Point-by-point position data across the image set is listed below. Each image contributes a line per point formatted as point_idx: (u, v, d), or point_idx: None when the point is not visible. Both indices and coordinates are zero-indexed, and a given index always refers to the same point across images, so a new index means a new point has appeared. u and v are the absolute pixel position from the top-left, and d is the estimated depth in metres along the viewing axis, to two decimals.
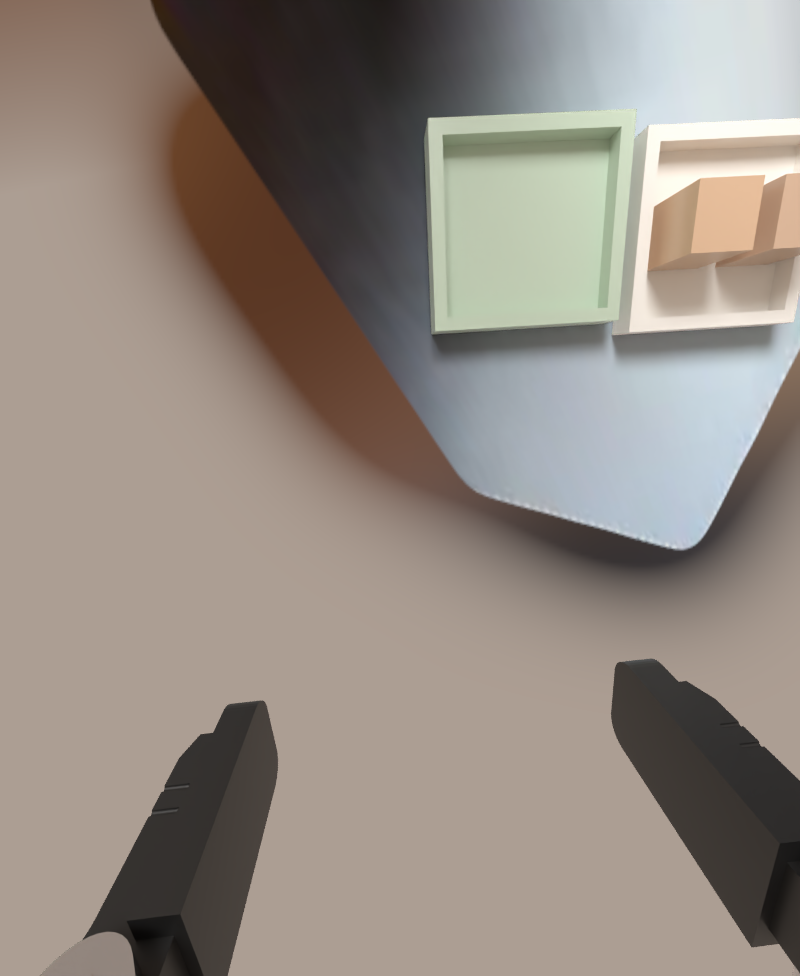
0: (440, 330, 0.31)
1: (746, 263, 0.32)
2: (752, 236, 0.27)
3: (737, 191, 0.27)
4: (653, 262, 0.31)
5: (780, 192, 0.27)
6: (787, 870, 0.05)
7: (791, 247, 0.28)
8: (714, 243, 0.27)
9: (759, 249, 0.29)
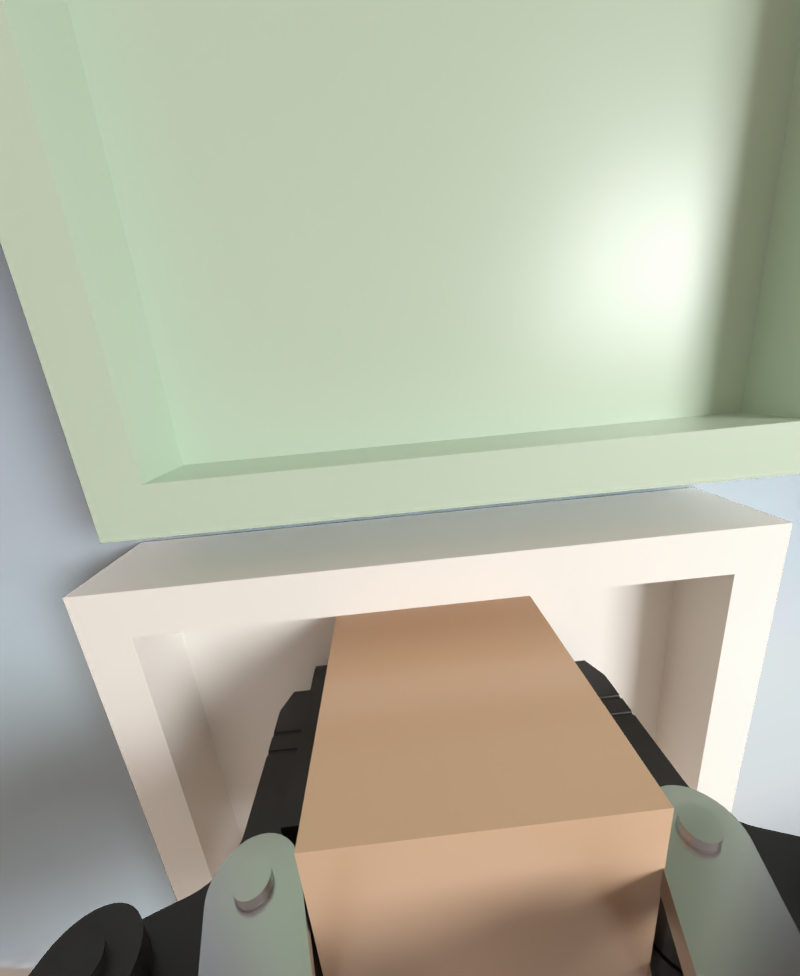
0: None
1: None
2: None
3: (589, 957, 0.05)
4: (352, 633, 0.08)
5: None
6: None
7: None
8: (358, 935, 0.05)
9: None
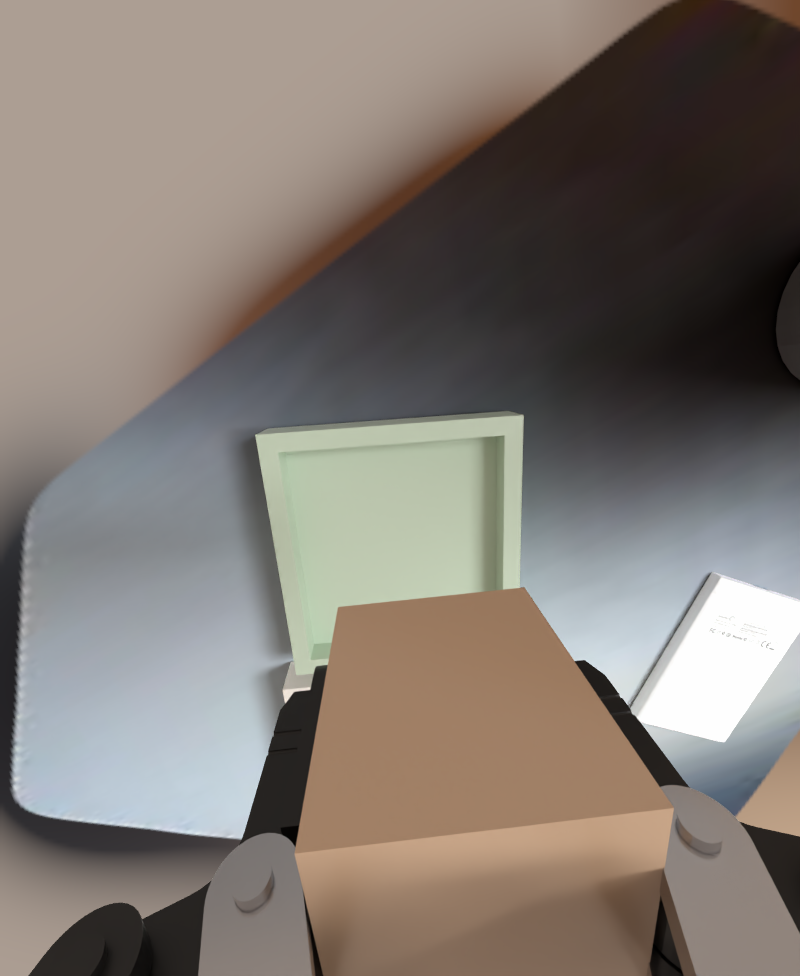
0: (258, 442, 0.20)
1: None
2: None
3: (589, 957, 0.05)
4: (352, 633, 0.08)
5: None
6: None
7: None
8: (357, 935, 0.05)
9: None
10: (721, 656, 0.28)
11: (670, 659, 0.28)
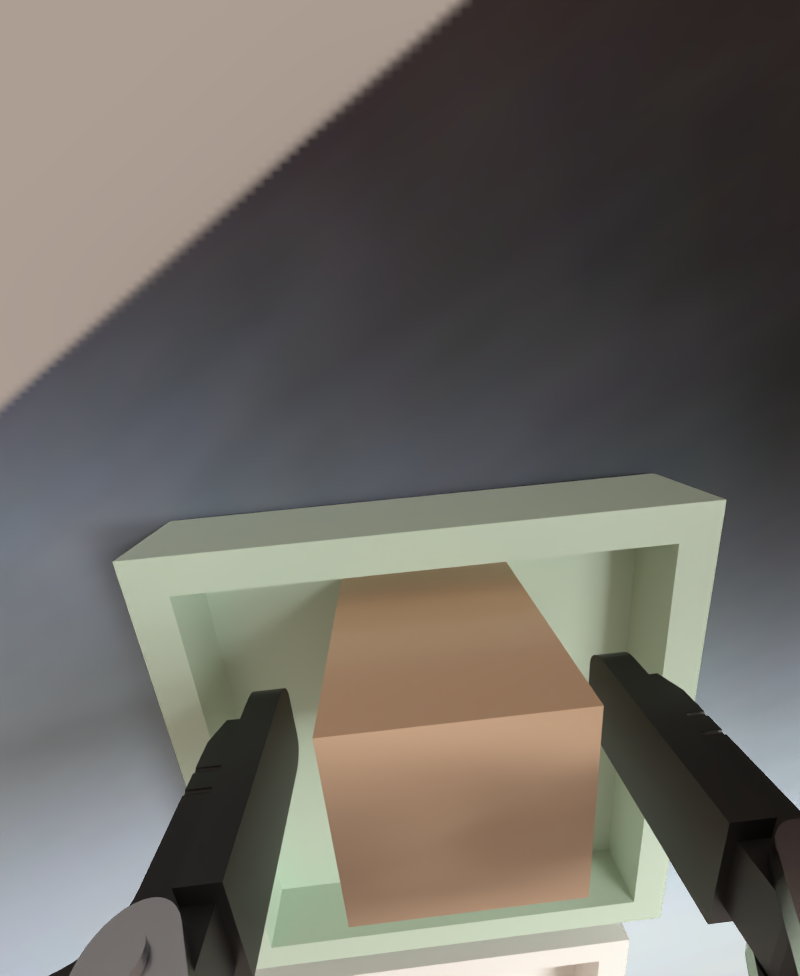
0: (123, 576, 0.09)
1: None
2: (393, 915, 0.07)
3: (543, 835, 0.07)
4: (355, 594, 0.10)
5: None
6: (738, 848, 0.06)
7: None
8: (360, 811, 0.06)
9: None
10: None
11: None
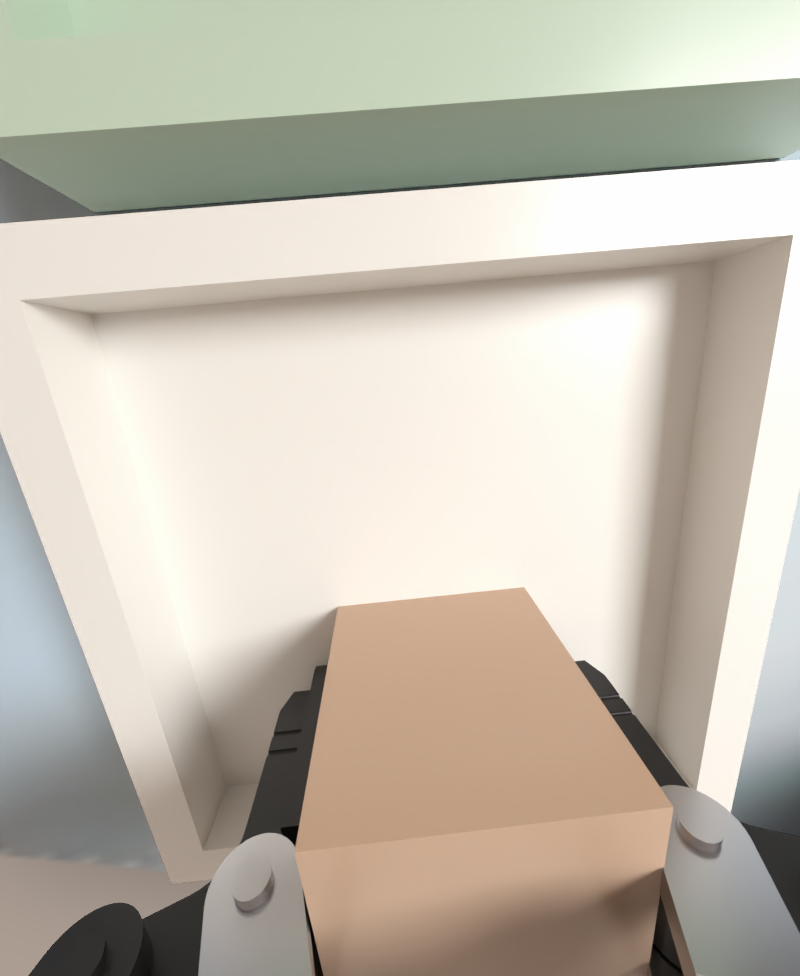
0: None
1: None
2: None
3: None
4: None
5: (580, 800, 0.05)
6: None
7: (315, 923, 0.05)
8: None
9: (329, 758, 0.06)
10: None
11: None
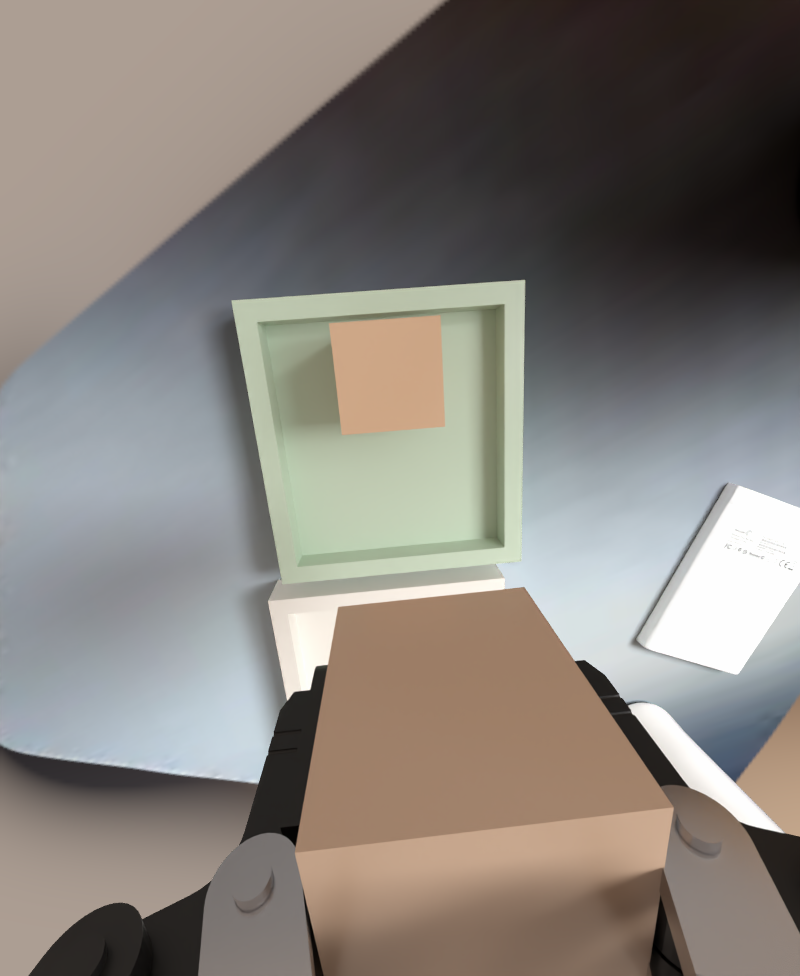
0: (235, 311, 0.19)
1: None
2: (360, 429, 0.17)
3: (422, 386, 0.17)
4: None
5: (580, 800, 0.05)
6: None
7: (315, 923, 0.05)
8: (347, 364, 0.16)
9: (329, 758, 0.06)
10: (736, 576, 0.26)
11: (682, 580, 0.26)
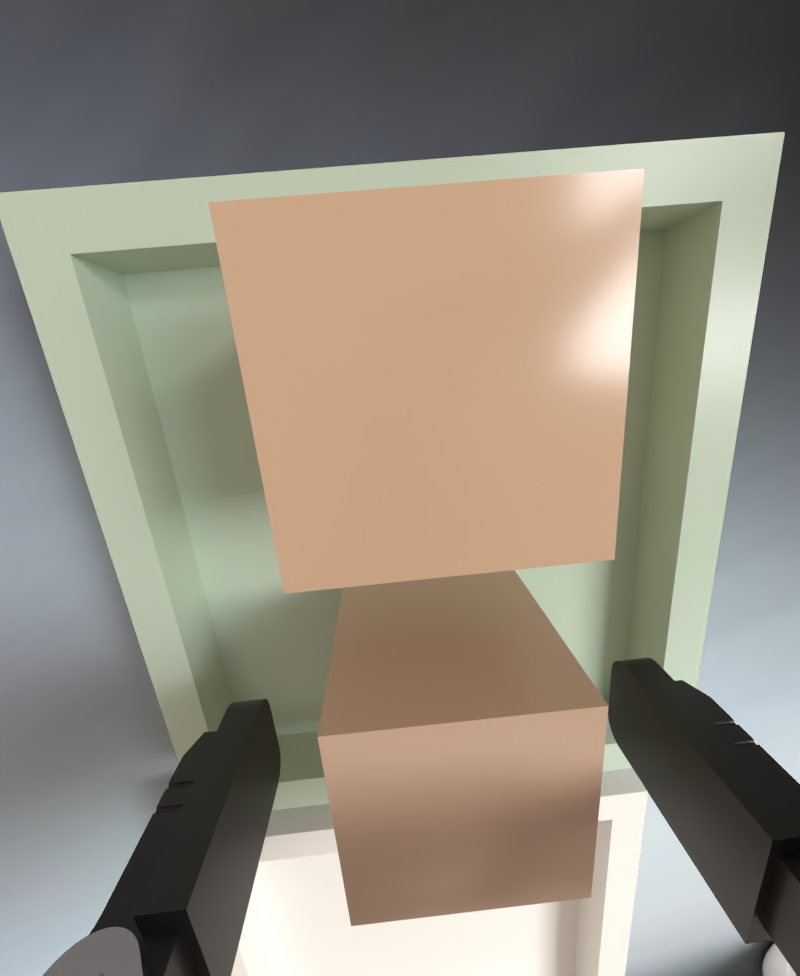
0: (10, 224, 0.07)
1: None
2: (345, 574, 0.05)
3: (553, 435, 0.05)
4: None
5: (538, 702, 0.06)
6: (780, 867, 0.05)
7: (331, 800, 0.06)
8: (289, 365, 0.04)
9: (342, 679, 0.07)
10: None
11: None
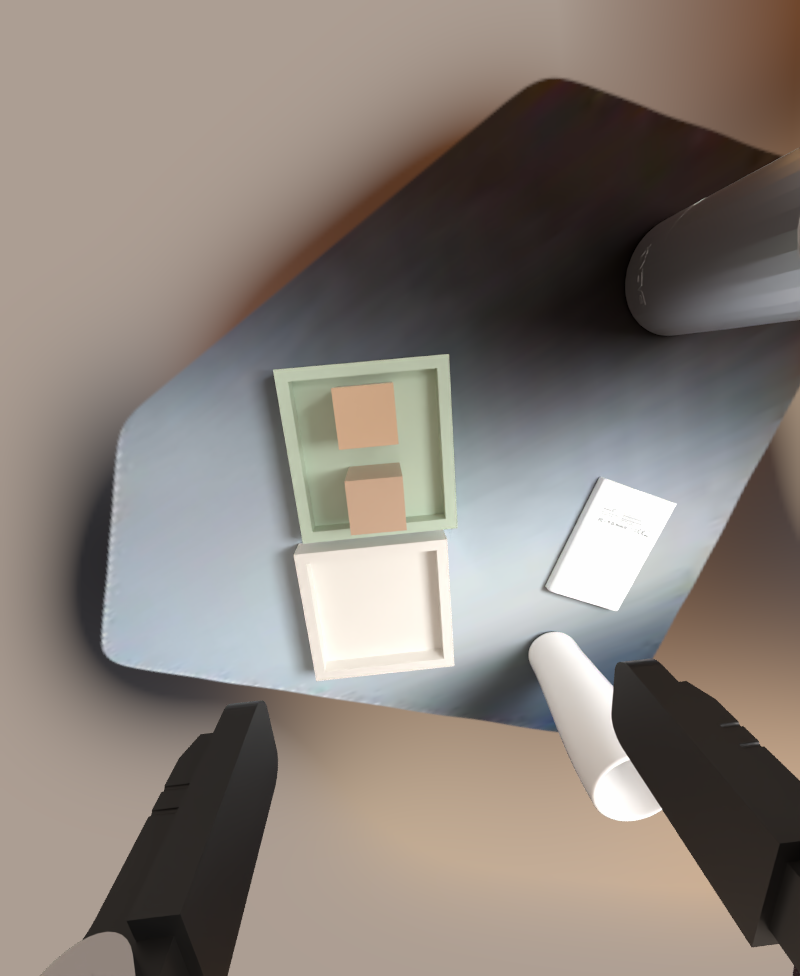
0: (275, 375, 0.31)
1: None
2: (349, 446, 0.29)
3: (384, 421, 0.29)
4: None
5: (389, 476, 0.30)
6: (787, 870, 0.05)
7: (346, 498, 0.30)
8: (341, 410, 0.29)
9: (349, 477, 0.31)
10: (608, 540, 0.38)
11: (571, 542, 0.38)
